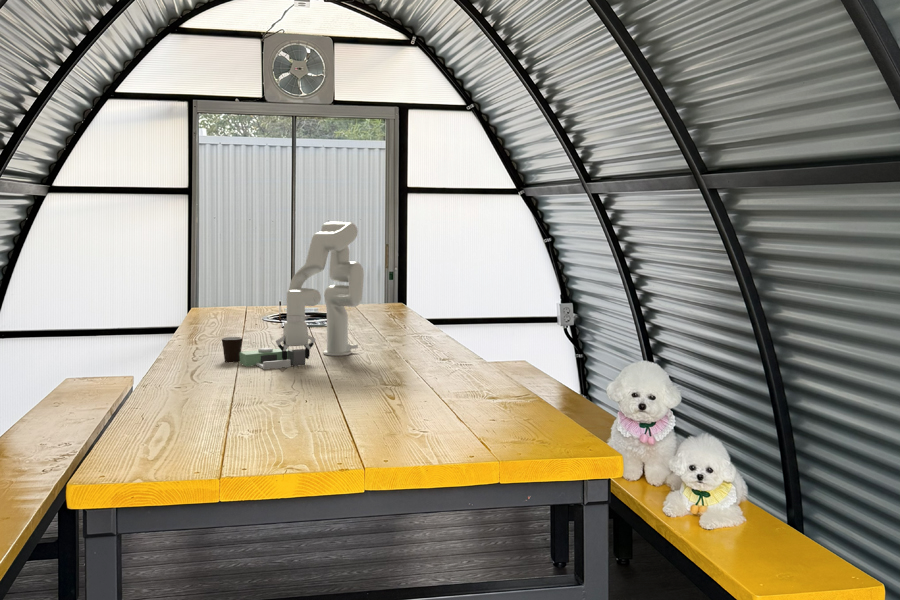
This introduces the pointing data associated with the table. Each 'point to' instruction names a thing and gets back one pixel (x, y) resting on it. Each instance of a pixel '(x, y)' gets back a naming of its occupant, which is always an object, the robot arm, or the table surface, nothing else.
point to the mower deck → (264, 358)
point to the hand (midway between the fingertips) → (295, 359)
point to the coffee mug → (232, 348)
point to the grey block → (296, 357)
